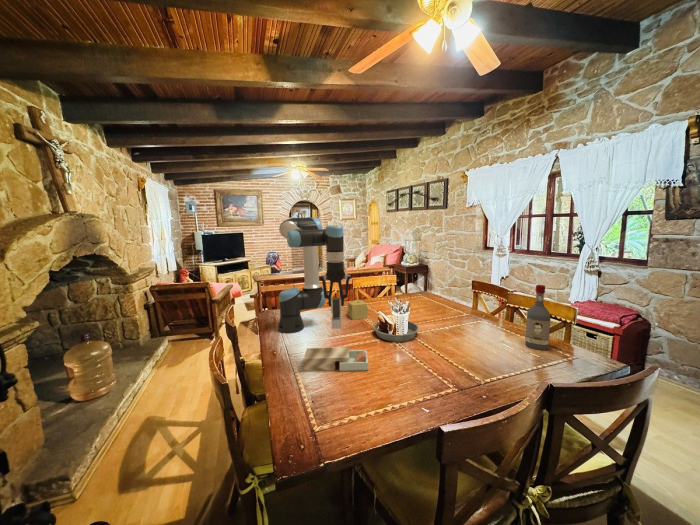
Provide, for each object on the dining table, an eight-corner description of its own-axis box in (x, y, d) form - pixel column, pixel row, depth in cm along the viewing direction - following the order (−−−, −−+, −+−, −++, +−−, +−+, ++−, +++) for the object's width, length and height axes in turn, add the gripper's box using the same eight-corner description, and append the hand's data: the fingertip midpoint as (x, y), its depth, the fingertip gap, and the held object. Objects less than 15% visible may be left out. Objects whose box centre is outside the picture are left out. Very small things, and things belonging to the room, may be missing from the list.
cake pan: (403, 323, 176) (403, 316, 175) (427, 338, 153) (428, 330, 152) (366, 330, 167) (366, 322, 166) (386, 346, 144) (386, 338, 144)
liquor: (525, 340, 147) (529, 282, 142) (547, 344, 142) (551, 284, 138) (525, 347, 139) (529, 286, 135) (548, 351, 134) (553, 288, 130)
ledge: (304, 371, 122) (303, 358, 121) (307, 359, 132) (306, 348, 131) (349, 369, 122) (348, 357, 121) (349, 358, 132) (348, 347, 131)
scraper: (331, 328, 125) (331, 302, 123) (332, 320, 135) (332, 295, 133) (341, 328, 125) (340, 301, 123) (341, 320, 135) (340, 295, 133)
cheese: (347, 315, 193) (347, 301, 191) (362, 313, 196) (362, 299, 194) (352, 320, 183) (351, 305, 181) (368, 318, 186) (367, 303, 185)
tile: (363, 355, 124) (366, 358, 124) (362, 350, 128) (365, 353, 129) (354, 362, 124) (358, 366, 124) (354, 357, 129) (357, 360, 129)
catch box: (339, 371, 121) (339, 363, 120) (340, 357, 133) (340, 350, 132) (368, 370, 121) (368, 362, 121) (366, 357, 133) (366, 350, 132)
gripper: (315, 262, 122) (317, 316, 126) (354, 262, 122) (354, 315, 126) (317, 260, 129) (319, 310, 133) (353, 259, 130) (354, 309, 133)
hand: (336, 312), depth 130 cm, fingers closed on scraper, 3 cm apart
